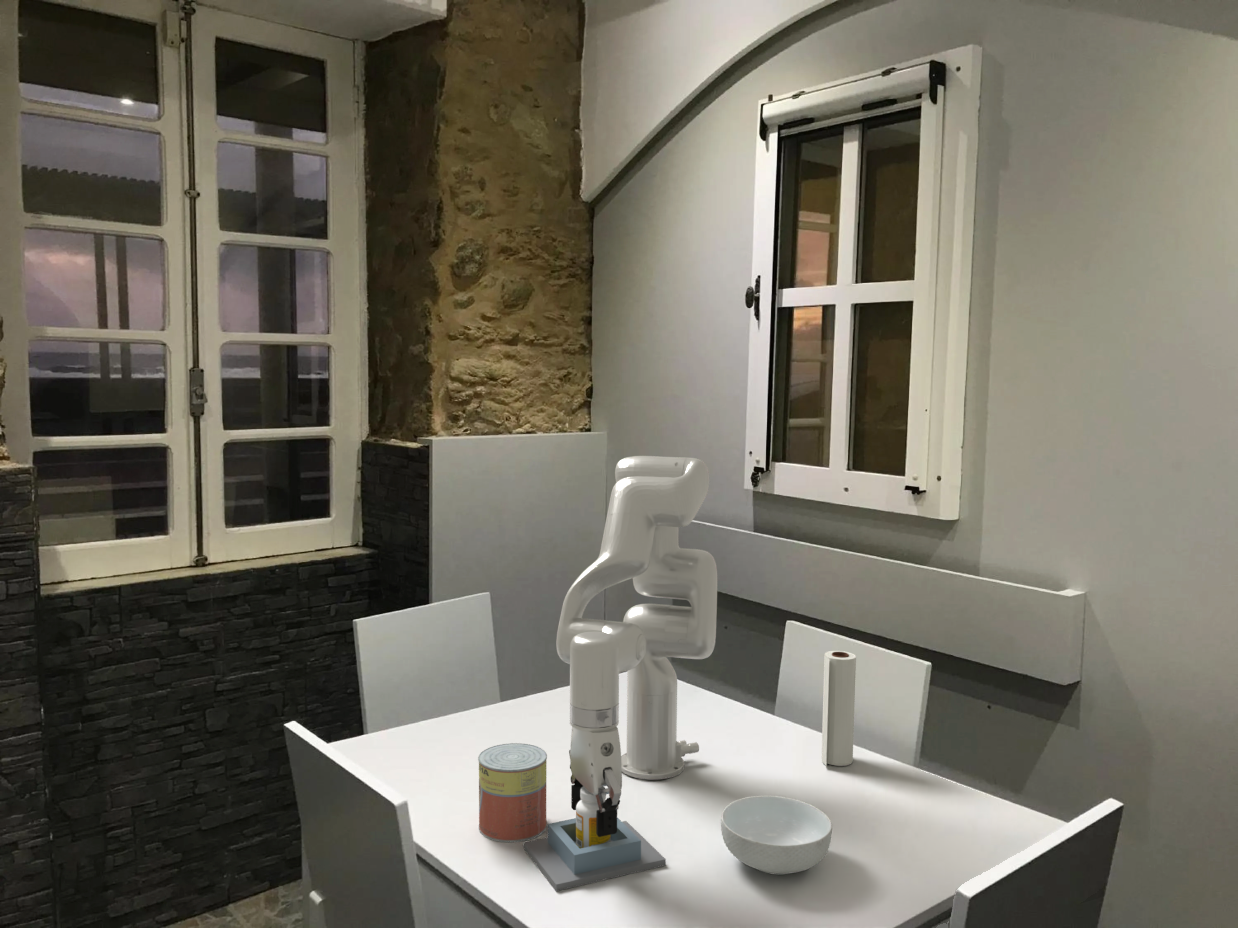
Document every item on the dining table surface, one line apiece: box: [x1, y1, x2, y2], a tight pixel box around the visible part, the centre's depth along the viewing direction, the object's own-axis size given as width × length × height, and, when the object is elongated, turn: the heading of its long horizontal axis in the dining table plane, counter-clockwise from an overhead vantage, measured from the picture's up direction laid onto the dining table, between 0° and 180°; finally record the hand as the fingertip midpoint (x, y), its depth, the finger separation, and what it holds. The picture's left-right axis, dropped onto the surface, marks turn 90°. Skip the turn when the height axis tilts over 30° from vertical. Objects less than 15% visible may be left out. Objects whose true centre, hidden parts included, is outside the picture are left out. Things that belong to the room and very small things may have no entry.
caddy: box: [522, 817, 667, 892], centre depth 150 cm, size 18×14×4 cm
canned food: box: [477, 742, 548, 843], centre depth 160 cm, size 11×11×12 cm
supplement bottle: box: [575, 786, 611, 849], centre depth 150 cm, size 5×5×10 cm
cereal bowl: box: [720, 795, 833, 875], centre depth 149 cm, size 17×17×7 cm
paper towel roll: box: [821, 650, 857, 769], centre depth 188 cm, size 7×6×21 cm
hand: (593, 820), depth 150 cm, fingers open, 9 cm apart
